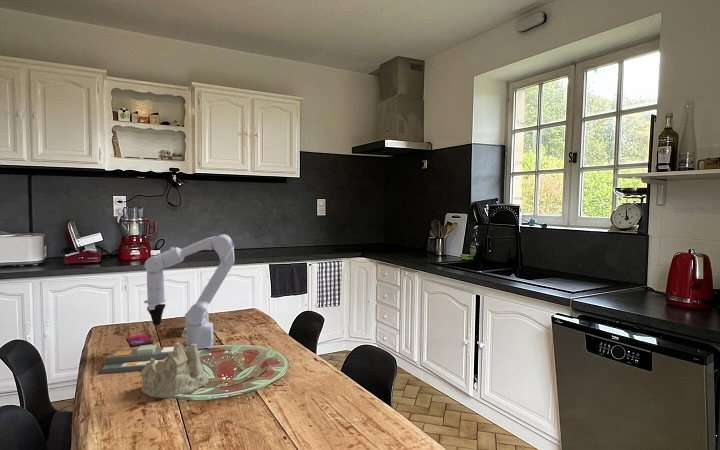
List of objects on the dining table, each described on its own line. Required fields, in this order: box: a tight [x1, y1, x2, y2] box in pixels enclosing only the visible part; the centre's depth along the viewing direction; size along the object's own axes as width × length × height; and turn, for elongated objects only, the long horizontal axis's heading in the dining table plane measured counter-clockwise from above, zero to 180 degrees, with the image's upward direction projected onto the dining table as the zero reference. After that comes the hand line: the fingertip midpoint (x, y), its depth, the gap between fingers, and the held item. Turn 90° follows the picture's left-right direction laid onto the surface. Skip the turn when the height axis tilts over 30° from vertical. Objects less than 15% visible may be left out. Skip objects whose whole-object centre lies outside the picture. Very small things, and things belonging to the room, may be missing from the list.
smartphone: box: [126, 333, 154, 348], centre depth 175 cm, size 8×1×15 cm
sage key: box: [136, 343, 157, 355], centre depth 150 cm, size 5×5×2 cm
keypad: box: [101, 344, 187, 375], centre depth 150 cm, size 23×16×4 cm
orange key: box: [112, 349, 133, 357], centre depth 149 cm, size 5×5×2 cm
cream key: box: [161, 346, 174, 353], centre depth 152 cm, size 5×5×2 cm
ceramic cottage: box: [139, 342, 210, 399], centre depth 129 cm, size 16×16×15 cm
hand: (157, 324), depth 163 cm, fingers closed
